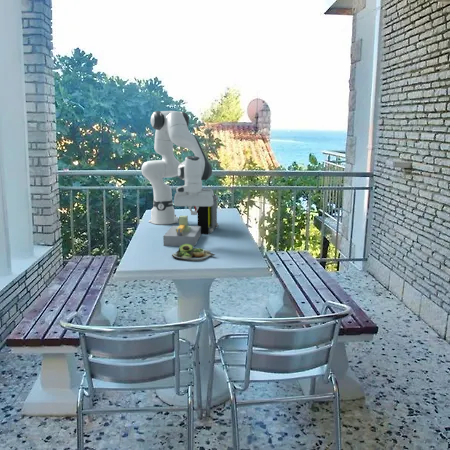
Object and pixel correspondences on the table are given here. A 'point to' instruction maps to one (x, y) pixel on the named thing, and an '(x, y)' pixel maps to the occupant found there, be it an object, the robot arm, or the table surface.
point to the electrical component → (207, 217)
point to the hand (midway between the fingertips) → (193, 214)
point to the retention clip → (180, 230)
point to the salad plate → (191, 253)
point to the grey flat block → (182, 236)
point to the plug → (184, 223)
